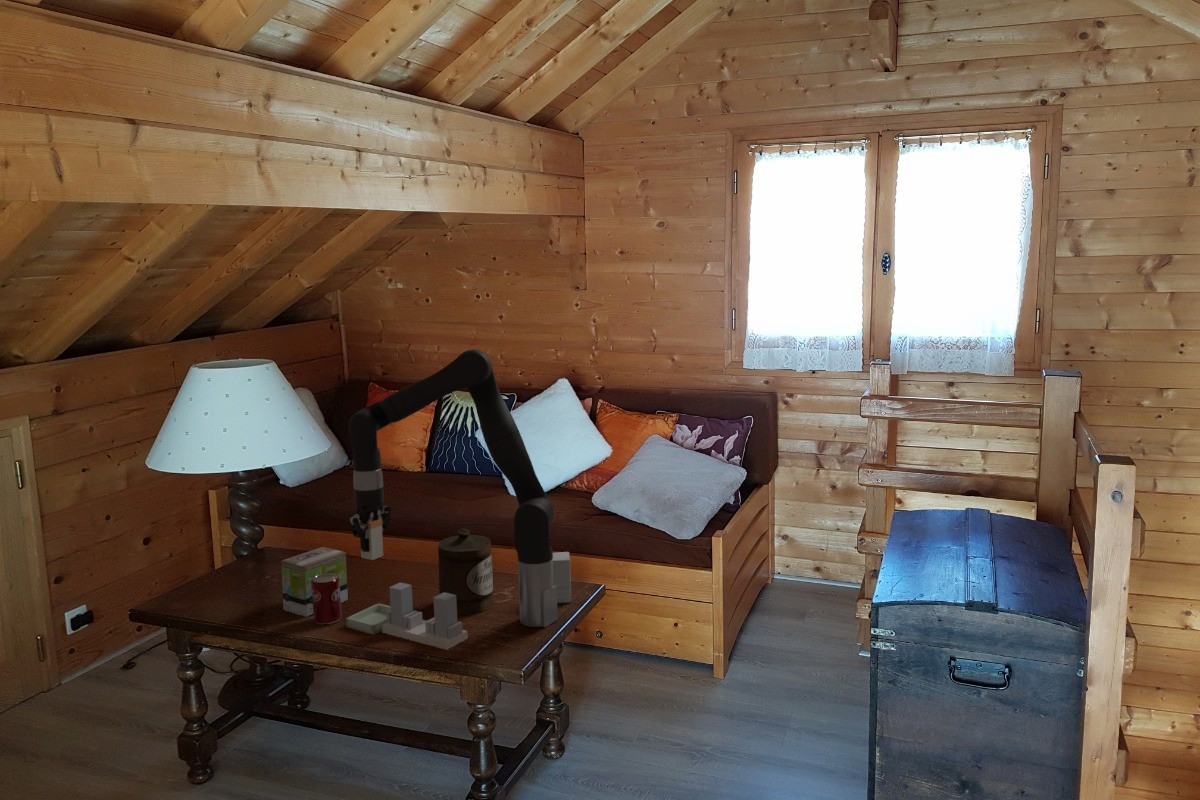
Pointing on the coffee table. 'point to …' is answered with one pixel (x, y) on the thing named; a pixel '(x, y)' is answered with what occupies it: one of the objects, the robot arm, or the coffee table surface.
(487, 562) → the wooden container
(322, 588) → the soda can
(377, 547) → the block
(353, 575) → the coffee table surface
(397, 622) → the block
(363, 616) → the tray
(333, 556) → the tea box
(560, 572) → the supplement box
